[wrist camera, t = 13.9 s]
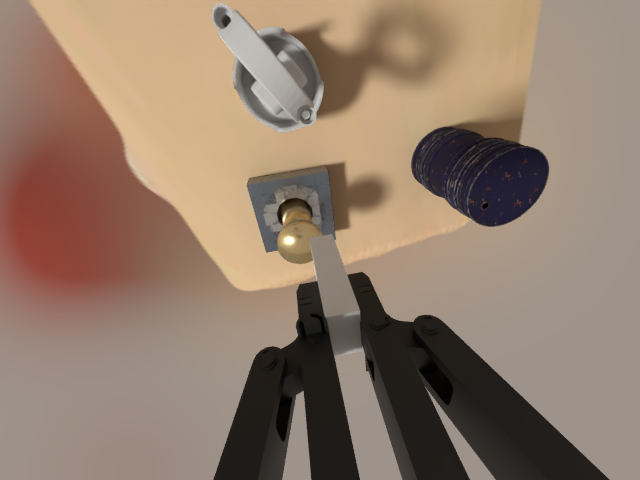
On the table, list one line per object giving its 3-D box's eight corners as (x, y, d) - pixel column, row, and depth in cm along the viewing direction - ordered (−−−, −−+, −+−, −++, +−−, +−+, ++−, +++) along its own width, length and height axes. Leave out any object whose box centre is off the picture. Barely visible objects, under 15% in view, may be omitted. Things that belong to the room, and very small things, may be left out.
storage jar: (454, 111, 39) (538, 124, 26) (477, 159, 44) (558, 191, 31) (399, 156, 42) (452, 188, 29) (427, 198, 46) (483, 241, 34)
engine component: (280, 140, 38) (331, 87, 35) (283, 188, 21) (384, 90, 18) (217, 75, 33) (271, 7, 30) (150, 65, 15) (263, -96, 13)
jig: (248, 178, 40) (246, 184, 37) (324, 165, 41) (328, 171, 38) (266, 243, 46) (266, 252, 44) (332, 231, 47) (335, 239, 44)
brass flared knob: (281, 225, 45) (283, 267, 35) (272, 193, 42) (272, 229, 32) (315, 218, 45) (326, 258, 35) (309, 186, 42) (320, 220, 32)
